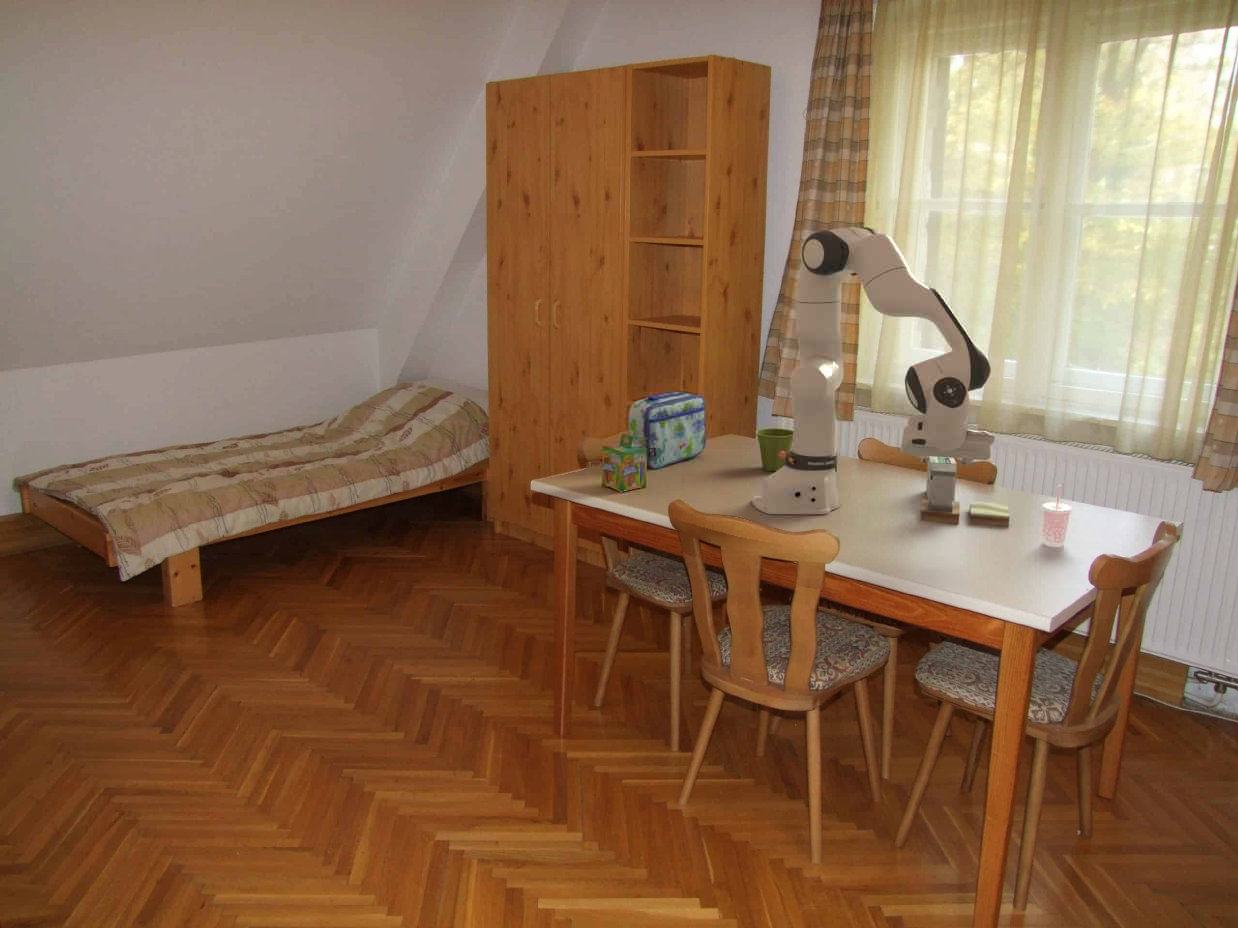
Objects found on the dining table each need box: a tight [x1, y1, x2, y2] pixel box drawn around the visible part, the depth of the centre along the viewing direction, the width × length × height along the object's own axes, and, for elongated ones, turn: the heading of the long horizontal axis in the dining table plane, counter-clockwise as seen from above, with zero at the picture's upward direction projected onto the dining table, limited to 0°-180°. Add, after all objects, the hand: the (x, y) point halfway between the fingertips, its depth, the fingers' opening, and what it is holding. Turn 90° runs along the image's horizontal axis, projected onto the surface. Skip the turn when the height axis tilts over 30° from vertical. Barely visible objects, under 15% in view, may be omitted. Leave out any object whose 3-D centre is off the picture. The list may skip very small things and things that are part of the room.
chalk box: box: [601, 433, 648, 491], centre depth 287 cm, size 9×9×15 cm
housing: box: [929, 463, 957, 512], centre depth 259 cm, size 8×6×10 cm
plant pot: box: [755, 427, 793, 472], centre depth 305 cm, size 12×12×11 cm
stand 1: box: [920, 498, 961, 525], centre depth 261 cm, size 11×9×2 cm
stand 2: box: [969, 500, 1010, 527], centre depth 259 cm, size 11×9×2 cm
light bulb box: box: [925, 456, 958, 502], centre depth 277 cm, size 11×7×11 cm, turn 168°
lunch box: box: [628, 391, 707, 470], centre depth 313 cm, size 26×11×21 cm, turn 133°
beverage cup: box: [1042, 484, 1073, 548], centre depth 239 cm, size 6×6×14 cm
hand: (944, 461), depth 247 cm, fingers open, 8 cm apart
